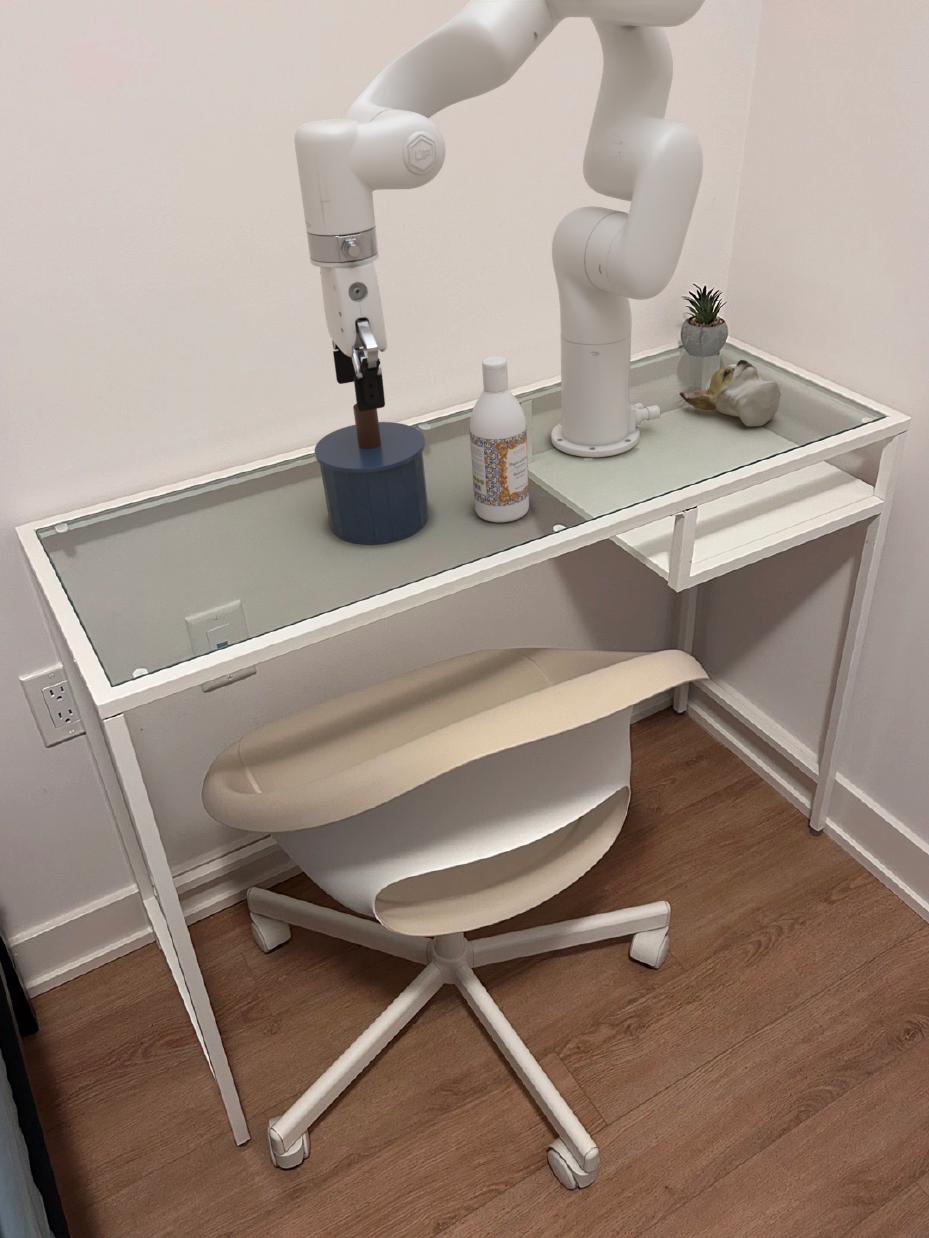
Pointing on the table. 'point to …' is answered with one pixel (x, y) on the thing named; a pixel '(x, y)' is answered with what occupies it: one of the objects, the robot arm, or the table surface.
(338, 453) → the tin lid
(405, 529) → the tin
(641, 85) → the robot arm
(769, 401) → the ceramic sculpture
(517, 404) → the bath foam
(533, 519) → the table surface
